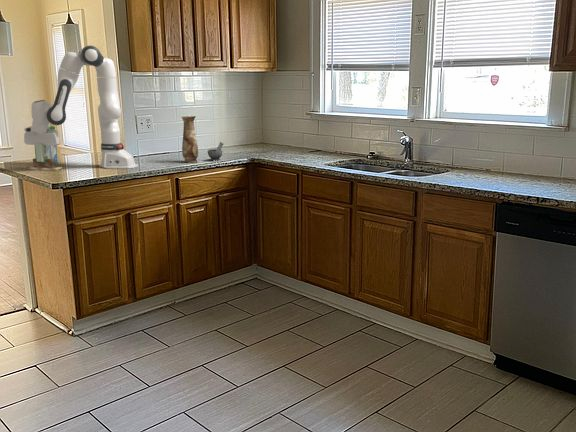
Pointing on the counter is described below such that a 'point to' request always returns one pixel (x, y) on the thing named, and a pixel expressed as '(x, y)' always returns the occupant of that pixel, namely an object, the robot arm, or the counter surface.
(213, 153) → the mortar and pestle
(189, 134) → the vase
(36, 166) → the jig
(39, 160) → the pale green flat box
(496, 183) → the counter surface
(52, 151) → the milk carton
